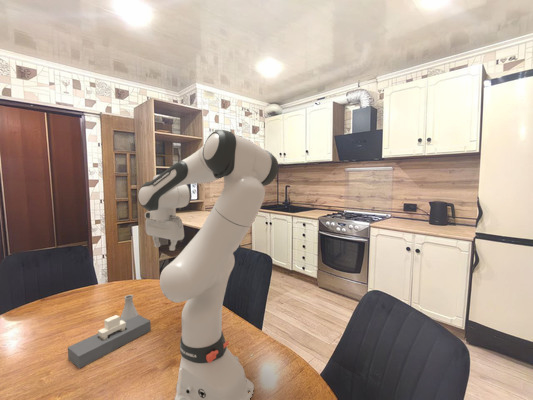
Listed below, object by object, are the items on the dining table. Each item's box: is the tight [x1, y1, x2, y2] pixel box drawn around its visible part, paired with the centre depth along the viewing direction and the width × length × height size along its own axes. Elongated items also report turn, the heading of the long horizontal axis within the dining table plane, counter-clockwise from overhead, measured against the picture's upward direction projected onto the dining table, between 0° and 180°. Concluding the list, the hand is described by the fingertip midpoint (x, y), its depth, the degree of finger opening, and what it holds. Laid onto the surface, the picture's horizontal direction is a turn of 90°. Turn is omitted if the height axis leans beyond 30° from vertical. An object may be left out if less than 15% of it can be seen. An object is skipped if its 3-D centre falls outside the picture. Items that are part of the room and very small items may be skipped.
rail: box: [67, 314, 152, 369], centre depth 90 cm, size 8×24×4 cm, turn 148°
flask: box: [119, 294, 140, 321], centre depth 106 cm, size 7×7×10 cm
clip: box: [97, 314, 126, 341], centre depth 90 cm, size 3×8×10 cm, turn 148°
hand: (164, 248), depth 102 cm, fingers open, 8 cm apart
